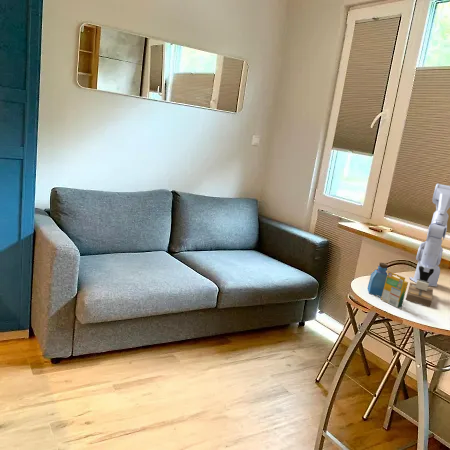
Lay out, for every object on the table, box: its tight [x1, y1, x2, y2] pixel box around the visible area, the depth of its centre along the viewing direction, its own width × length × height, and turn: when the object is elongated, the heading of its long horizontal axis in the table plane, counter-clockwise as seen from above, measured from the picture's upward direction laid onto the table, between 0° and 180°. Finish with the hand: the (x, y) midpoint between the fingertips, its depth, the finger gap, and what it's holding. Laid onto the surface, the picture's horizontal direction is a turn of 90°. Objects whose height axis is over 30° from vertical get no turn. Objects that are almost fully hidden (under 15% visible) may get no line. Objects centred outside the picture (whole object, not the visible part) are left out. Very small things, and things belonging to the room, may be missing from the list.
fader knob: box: [415, 279, 429, 291], centre depth 185 cm, size 3×4×3 cm
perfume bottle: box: [367, 262, 388, 297], centre depth 178 cm, size 6×6×12 cm
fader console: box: [405, 281, 434, 308], centre depth 183 cm, size 18×9×3 cm, turn 154°
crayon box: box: [380, 270, 409, 309], centre depth 169 cm, size 7×3×12 cm, turn 36°
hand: (421, 284), depth 188 cm, fingers closed
